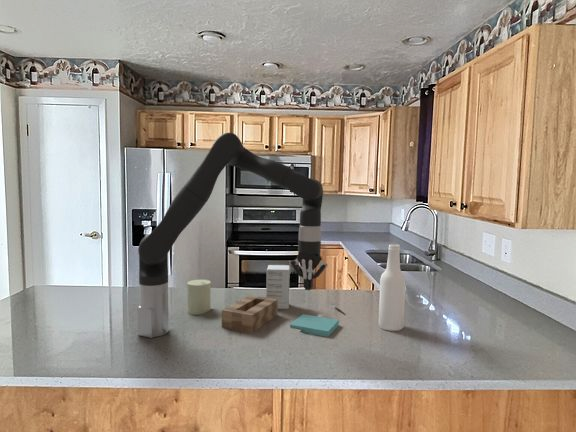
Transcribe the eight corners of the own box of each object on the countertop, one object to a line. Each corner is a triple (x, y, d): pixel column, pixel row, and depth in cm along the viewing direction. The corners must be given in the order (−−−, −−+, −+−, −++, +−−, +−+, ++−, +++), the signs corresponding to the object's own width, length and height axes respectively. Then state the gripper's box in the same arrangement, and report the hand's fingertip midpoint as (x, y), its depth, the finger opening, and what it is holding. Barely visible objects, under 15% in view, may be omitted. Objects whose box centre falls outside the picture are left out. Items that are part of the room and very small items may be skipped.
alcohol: (386, 332, 138) (389, 247, 136) (374, 323, 147) (377, 243, 144) (408, 330, 141) (412, 246, 138) (395, 322, 149) (398, 242, 147)
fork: (342, 316, 156) (342, 311, 156) (325, 304, 171) (325, 299, 170) (348, 315, 157) (348, 310, 156) (330, 303, 172) (330, 299, 171)
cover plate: (289, 331, 140) (328, 338, 134) (290, 324, 139) (328, 331, 134) (302, 320, 150) (338, 326, 145) (302, 314, 150) (338, 320, 145)
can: (197, 316, 152) (197, 285, 151) (182, 311, 157) (182, 281, 156) (215, 310, 159) (215, 280, 158) (200, 305, 164) (200, 277, 163)
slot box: (251, 335, 134) (252, 315, 133) (221, 329, 139) (221, 310, 138) (277, 317, 152) (277, 299, 151) (249, 312, 157) (249, 295, 156)
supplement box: (288, 311, 159) (289, 269, 158) (265, 310, 159) (266, 269, 158) (289, 304, 169) (289, 264, 167) (267, 303, 169) (267, 264, 167)
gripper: (287, 238, 133) (285, 289, 134) (324, 242, 127) (323, 295, 129) (295, 236, 140) (294, 284, 141) (332, 239, 134) (330, 289, 136)
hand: (308, 289), depth 135 cm, fingers closed
